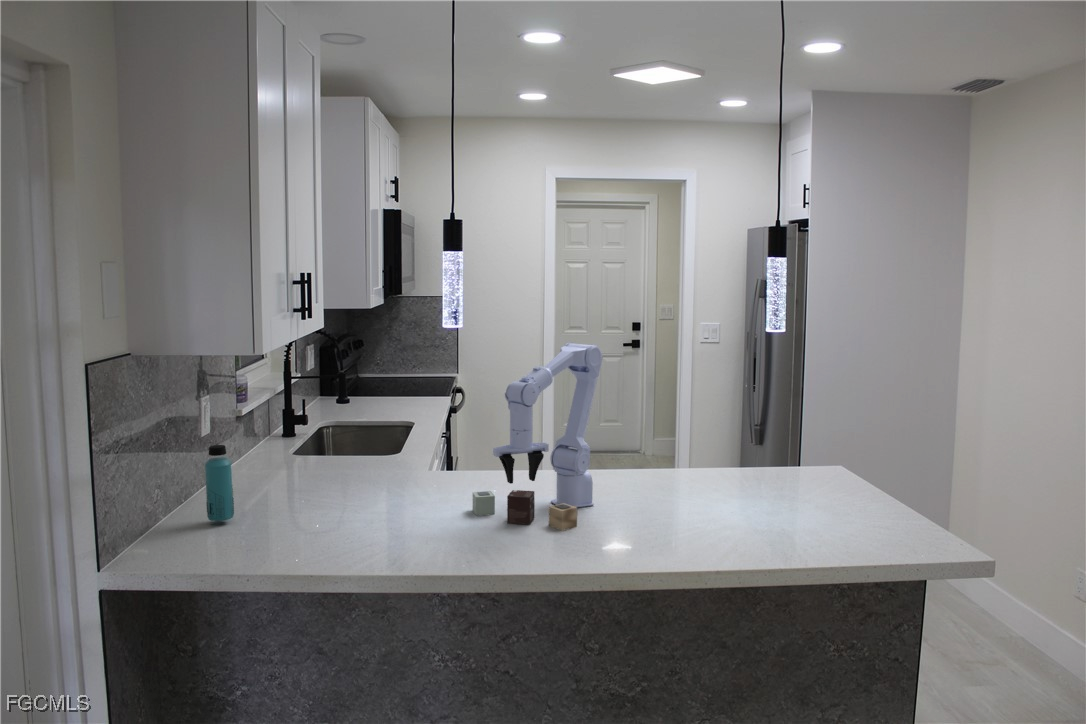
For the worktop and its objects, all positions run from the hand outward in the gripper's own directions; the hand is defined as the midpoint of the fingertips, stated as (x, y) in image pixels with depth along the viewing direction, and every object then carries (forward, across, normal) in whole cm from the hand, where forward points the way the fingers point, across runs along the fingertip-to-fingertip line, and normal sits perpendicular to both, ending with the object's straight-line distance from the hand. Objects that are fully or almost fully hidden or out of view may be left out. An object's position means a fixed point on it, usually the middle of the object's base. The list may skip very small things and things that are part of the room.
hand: (521, 481), depth 218 cm
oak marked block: (+10, -8, +8) cm, 15 cm away
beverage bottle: (+11, +70, -29) cm, 77 cm away
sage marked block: (+10, +6, -11) cm, 16 cm away
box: (+11, 0, 0) cm, 11 cm away
